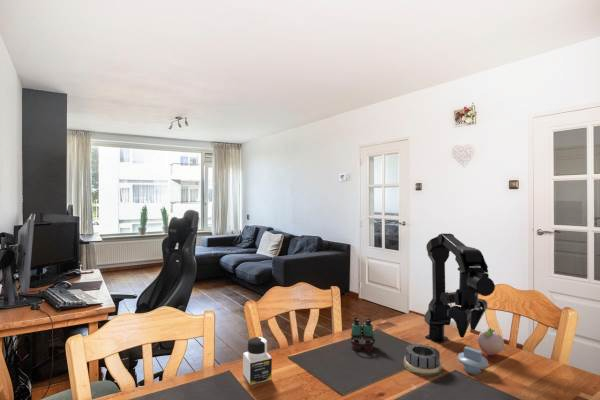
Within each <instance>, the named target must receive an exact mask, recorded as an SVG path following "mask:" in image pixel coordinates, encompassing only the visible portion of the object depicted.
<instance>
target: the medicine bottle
mask: <svg viewBox="0 0 600 400" xmlns="http://www.w3.org/2000/svg"><path fill="white" fill-rule="evenodd" d="M272 362H273V359H272V356H271V355H270V354H269V353H268V341H267V339H266V338H264V337H262V336H261V337H260V336H255V337H254V336H253V337H252V338H250V339H249V340H248V341H247V351H245V352H243V353H242V374H243V375H242V376H244V378H245V379H246V380H247V382H248V384H249V385H250V386H251V385H255V384H259V383H263V382H267V381H271V380H272V372H273V371H272V370H273V369H272V367H273V366H272V364H273V363H272Z"/></svg>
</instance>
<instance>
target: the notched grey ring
mask: <svg viewBox="0 0 600 400" xmlns="http://www.w3.org/2000/svg"><path fill="white" fill-rule="evenodd" d="M405 349H406V350H405V355H404V357H403V366H404V368H405V370H407V371H408V372H410V373H412V374H414V375H417V376H421V377H436V376H438V375H439V376H440V374H441V373H442V362H441V361H440V360H441V357H440V355H441V354H440V351H439V350H438V349H436V348H435V347H432V346H430V345H426V344H421V343H413V344H409V345H406V347H405Z"/></svg>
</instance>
